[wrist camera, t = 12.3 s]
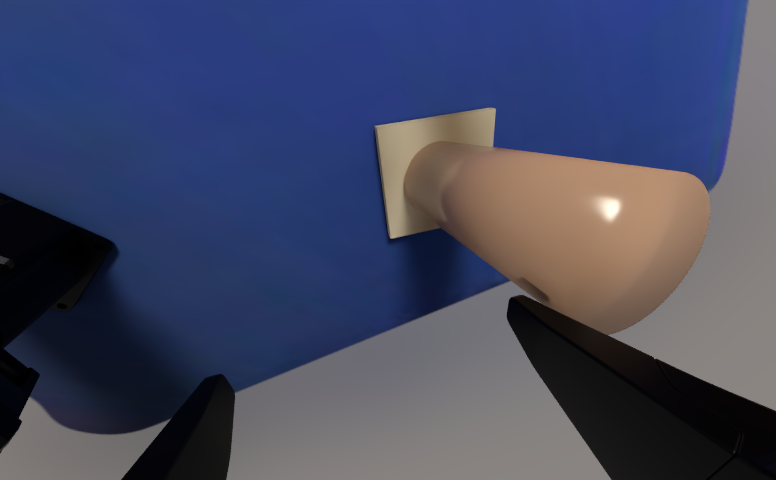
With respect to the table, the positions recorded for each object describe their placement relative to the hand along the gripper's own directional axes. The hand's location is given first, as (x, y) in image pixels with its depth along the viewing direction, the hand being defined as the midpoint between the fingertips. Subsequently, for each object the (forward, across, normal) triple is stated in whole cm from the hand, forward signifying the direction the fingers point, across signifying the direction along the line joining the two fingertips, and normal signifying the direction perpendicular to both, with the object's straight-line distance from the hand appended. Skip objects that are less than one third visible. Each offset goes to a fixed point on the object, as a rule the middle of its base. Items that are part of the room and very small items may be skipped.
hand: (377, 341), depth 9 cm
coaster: (+13, -7, 0) cm, 15 cm away
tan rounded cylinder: (+12, -7, 0) cm, 14 cm away
